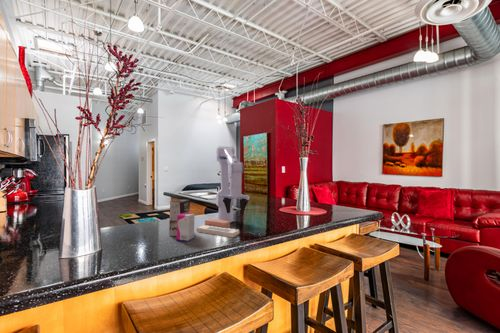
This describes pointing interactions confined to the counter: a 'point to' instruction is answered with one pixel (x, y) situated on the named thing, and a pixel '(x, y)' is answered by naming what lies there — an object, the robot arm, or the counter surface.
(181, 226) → the supplement box
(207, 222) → the stub tab
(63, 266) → the counter surface
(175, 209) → the coffee box
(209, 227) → the ticket board
